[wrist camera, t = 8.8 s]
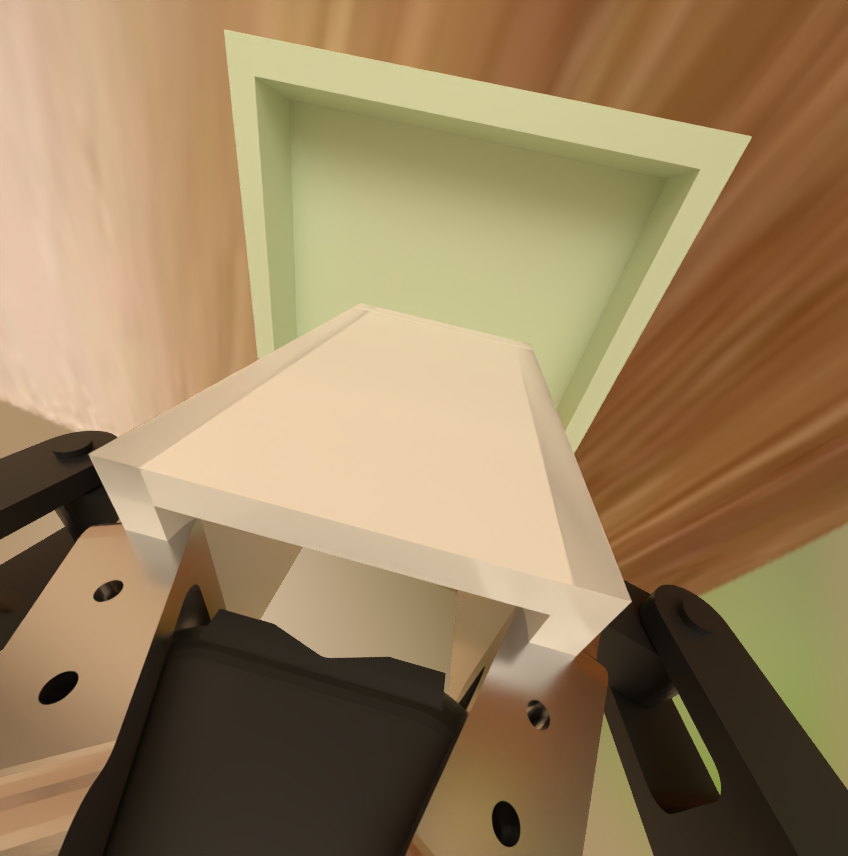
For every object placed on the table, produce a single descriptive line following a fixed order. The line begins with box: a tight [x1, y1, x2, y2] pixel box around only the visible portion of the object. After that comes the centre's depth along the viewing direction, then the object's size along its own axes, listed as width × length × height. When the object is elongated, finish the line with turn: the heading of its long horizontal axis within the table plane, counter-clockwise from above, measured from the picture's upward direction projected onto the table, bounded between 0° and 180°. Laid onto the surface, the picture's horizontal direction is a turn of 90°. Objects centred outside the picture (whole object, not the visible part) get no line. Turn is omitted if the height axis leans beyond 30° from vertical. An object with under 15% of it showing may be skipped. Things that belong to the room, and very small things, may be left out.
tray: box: [224, 29, 752, 453], centre depth 18 cm, size 18×22×3 cm
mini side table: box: [88, 303, 632, 701], centre depth 9 cm, size 6×6×9 cm
